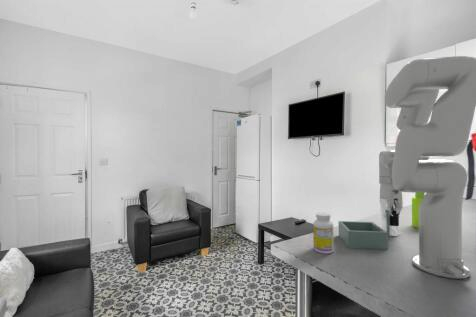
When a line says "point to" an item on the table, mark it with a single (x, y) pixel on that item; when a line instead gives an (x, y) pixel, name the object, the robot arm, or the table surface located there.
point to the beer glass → (387, 218)
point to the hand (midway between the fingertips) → (389, 222)
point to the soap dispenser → (416, 208)
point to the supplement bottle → (323, 234)
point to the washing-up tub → (363, 235)
